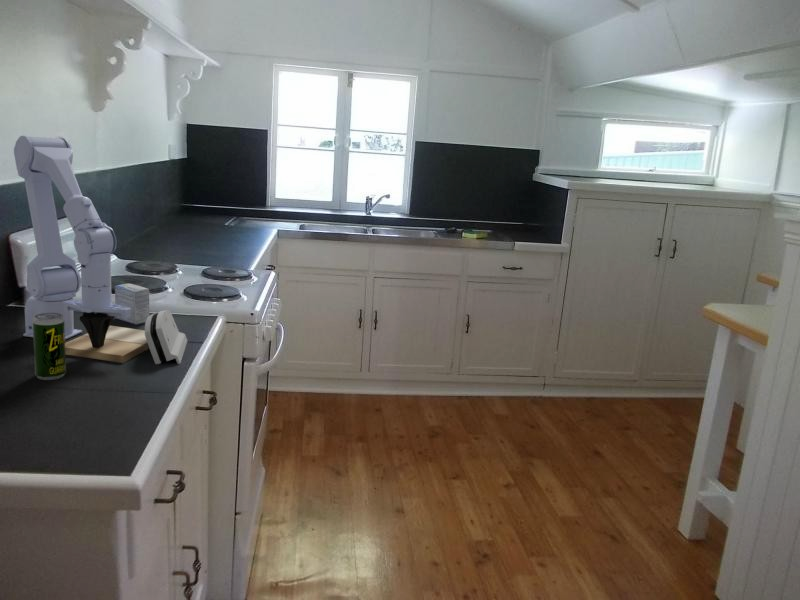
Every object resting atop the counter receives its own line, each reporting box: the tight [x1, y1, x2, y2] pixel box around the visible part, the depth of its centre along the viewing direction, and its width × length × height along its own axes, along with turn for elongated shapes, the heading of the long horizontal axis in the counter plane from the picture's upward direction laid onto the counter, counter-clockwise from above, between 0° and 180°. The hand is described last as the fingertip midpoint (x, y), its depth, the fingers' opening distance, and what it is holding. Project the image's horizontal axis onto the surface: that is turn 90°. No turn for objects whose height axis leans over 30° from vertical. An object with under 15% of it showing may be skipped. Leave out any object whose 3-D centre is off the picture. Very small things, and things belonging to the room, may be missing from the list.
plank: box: [65, 335, 145, 364], centre depth 146 cm, size 15×8×2 cm, turn 80°
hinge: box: [144, 309, 188, 365], centre depth 149 cm, size 17×5×10 cm, turn 12°
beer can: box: [32, 313, 67, 381], centre depth 130 cm, size 5×5×12 cm
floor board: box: [82, 325, 150, 352], centre depth 154 cm, size 15×9×2 cm, turn 80°
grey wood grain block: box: [114, 283, 151, 325], centre depth 170 cm, size 8×4×9 cm, turn 58°
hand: (98, 346), depth 145 cm, fingers closed, pressing on plank
